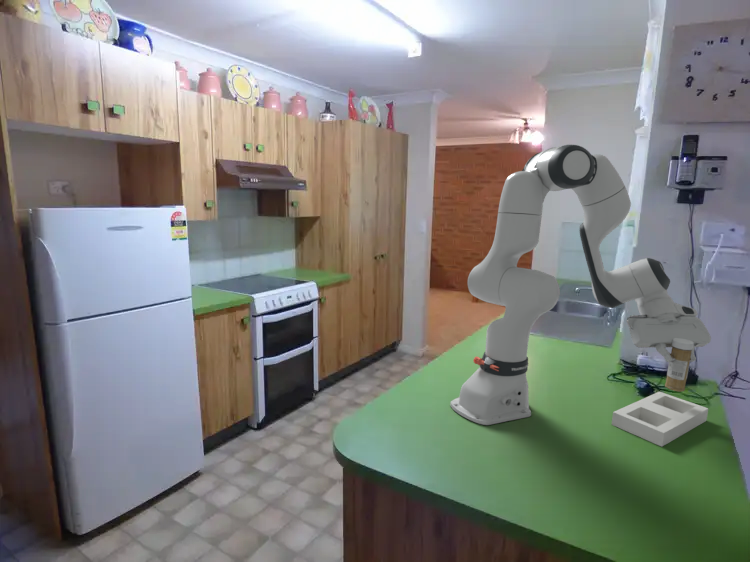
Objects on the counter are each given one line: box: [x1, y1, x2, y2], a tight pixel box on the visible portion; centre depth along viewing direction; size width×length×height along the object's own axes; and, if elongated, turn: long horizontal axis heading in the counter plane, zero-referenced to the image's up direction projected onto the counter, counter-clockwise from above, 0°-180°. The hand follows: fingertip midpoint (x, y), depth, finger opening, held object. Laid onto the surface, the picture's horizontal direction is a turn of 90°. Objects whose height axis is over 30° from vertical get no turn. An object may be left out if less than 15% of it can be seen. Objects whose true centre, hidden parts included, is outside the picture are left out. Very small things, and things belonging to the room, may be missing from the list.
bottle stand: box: [610, 391, 709, 447], centre depth 114 cm, size 24×12×4 cm, turn 123°
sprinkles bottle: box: [664, 338, 694, 392], centre depth 115 cm, size 5×5×13 cm
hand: (681, 361), depth 114 cm, fingers closed on sprinkles bottle, 4 cm apart
